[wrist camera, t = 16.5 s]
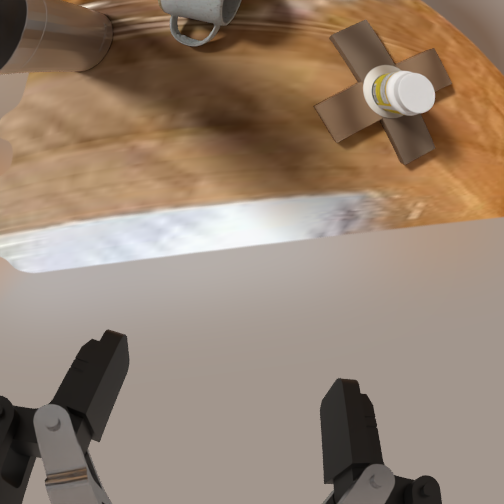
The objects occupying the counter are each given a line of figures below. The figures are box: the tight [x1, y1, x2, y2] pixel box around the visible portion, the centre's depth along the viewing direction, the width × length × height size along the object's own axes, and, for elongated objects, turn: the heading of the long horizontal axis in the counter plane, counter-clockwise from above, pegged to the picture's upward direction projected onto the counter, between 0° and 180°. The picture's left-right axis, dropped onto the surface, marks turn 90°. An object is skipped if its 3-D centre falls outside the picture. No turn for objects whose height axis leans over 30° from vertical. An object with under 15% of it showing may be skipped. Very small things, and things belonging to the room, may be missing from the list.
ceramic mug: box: [158, 0, 241, 46], centre depth 25 cm, size 11×8×8 cm
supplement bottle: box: [371, 71, 435, 116], centre depth 26 cm, size 5×5×8 cm
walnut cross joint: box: [314, 20, 452, 165], centre depth 31 cm, size 18×18×2 cm
